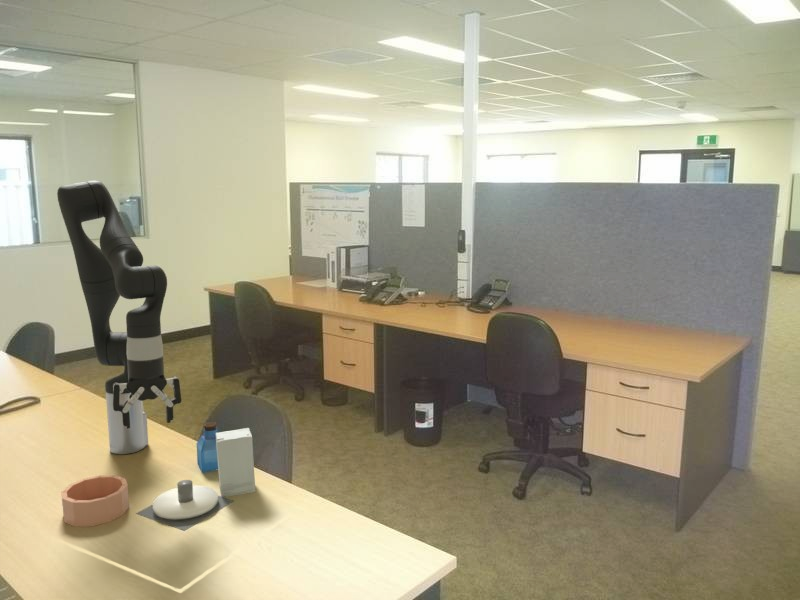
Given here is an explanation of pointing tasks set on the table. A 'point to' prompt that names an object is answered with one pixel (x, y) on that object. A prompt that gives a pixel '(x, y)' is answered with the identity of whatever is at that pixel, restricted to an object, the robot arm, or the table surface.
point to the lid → (185, 501)
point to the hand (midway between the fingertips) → (148, 424)
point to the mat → (187, 522)
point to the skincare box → (235, 462)
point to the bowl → (95, 500)
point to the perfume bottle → (207, 448)
